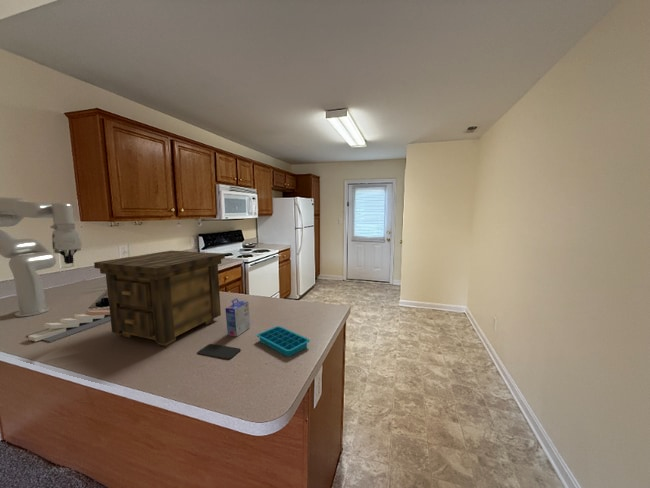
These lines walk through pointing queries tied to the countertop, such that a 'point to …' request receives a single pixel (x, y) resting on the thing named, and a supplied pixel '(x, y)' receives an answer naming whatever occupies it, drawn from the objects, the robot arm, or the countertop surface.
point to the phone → (219, 351)
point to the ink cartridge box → (237, 317)
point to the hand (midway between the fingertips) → (69, 263)
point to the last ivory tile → (46, 334)
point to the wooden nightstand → (162, 293)
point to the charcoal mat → (76, 329)
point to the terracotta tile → (98, 312)
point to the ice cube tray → (283, 340)
